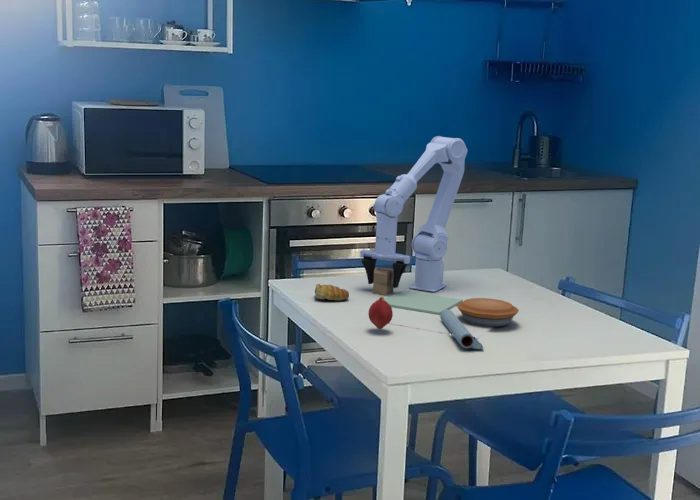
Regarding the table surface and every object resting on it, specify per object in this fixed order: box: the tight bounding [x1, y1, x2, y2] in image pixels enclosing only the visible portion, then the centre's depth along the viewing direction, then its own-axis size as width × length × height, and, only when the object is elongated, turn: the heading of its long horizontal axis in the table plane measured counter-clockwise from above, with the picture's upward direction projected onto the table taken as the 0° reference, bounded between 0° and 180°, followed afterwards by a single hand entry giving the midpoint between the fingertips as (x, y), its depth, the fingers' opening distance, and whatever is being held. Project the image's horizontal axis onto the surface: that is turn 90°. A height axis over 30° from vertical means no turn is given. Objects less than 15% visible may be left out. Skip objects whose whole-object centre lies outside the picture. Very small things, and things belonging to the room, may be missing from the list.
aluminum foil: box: [439, 309, 485, 350], centre depth 212 cm, size 23×7×3 cm, turn 6°
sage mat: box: [384, 290, 464, 316], centre depth 241 cm, size 18×18×1 cm
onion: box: [367, 296, 394, 330], centre depth 212 cm, size 6×6×8 cm
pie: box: [456, 297, 520, 327], centre depth 225 cm, size 16×16×5 cm
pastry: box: [314, 283, 350, 302], centre depth 239 cm, size 9×7×4 cm
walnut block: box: [372, 267, 394, 297], centre depth 249 cm, size 5×4×7 cm
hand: (383, 285), depth 249 cm, fingers open, 7 cm apart
